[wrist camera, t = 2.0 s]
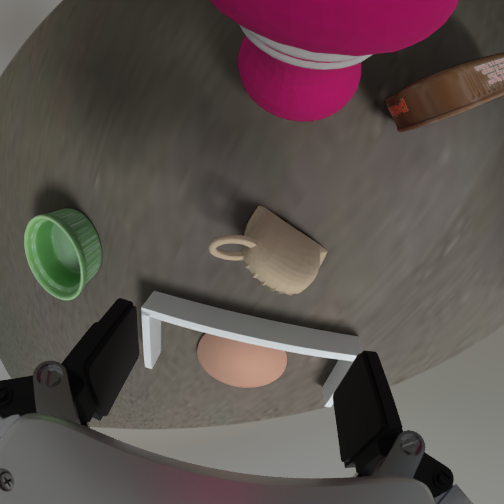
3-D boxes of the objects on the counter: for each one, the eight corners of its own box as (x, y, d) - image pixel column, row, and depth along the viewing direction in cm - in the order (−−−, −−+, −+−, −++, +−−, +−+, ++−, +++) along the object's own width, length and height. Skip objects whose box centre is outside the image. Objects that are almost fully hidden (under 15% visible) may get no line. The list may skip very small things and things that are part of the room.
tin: (383, 136, 18) (438, 137, 10) (364, 100, 17) (411, 79, 9) (493, 88, 14) (551, 85, 6) (479, 58, 13) (535, 46, 5)
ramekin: (40, 217, 24) (14, 230, 20) (87, 190, 22) (57, 201, 18) (69, 286, 27) (47, 304, 23) (120, 272, 25) (97, 294, 21)
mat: (298, 334, 26) (298, 336, 25) (273, 391, 30) (273, 393, 29) (202, 313, 26) (201, 314, 26) (195, 374, 30) (194, 376, 29)
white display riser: (358, 336, 25) (364, 356, 22) (328, 387, 28) (330, 407, 26) (154, 290, 25) (141, 307, 23) (154, 349, 29) (145, 366, 26)
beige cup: (298, 285, 24) (301, 323, 19) (217, 231, 23) (200, 258, 18) (328, 251, 22) (340, 283, 17) (245, 192, 21) (233, 208, 16)
